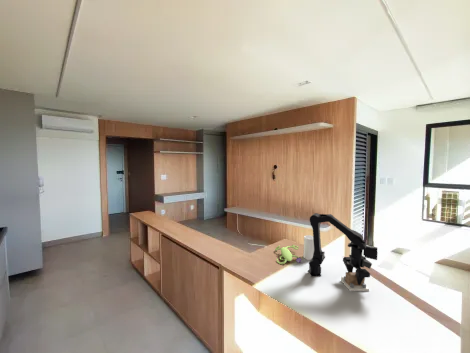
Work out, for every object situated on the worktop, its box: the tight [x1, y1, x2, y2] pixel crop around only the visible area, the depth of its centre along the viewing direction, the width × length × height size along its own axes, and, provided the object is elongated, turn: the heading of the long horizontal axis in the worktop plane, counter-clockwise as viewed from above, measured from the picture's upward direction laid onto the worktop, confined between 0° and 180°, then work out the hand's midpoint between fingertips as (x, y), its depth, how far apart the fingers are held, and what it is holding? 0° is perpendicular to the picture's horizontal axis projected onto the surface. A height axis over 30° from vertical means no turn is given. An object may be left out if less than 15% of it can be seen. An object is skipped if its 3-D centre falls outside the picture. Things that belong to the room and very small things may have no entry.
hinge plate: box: [340, 275, 370, 292], centre depth 128 cm, size 11×10×3 cm
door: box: [345, 271, 366, 286], centre depth 128 cm, size 10×4×6 cm, turn 90°
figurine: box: [274, 244, 302, 265], centre depth 165 cm, size 18×27×6 cm
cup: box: [302, 234, 314, 261], centre depth 162 cm, size 8×8×16 cm
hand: (354, 280), depth 128 cm, fingers open, 9 cm apart
